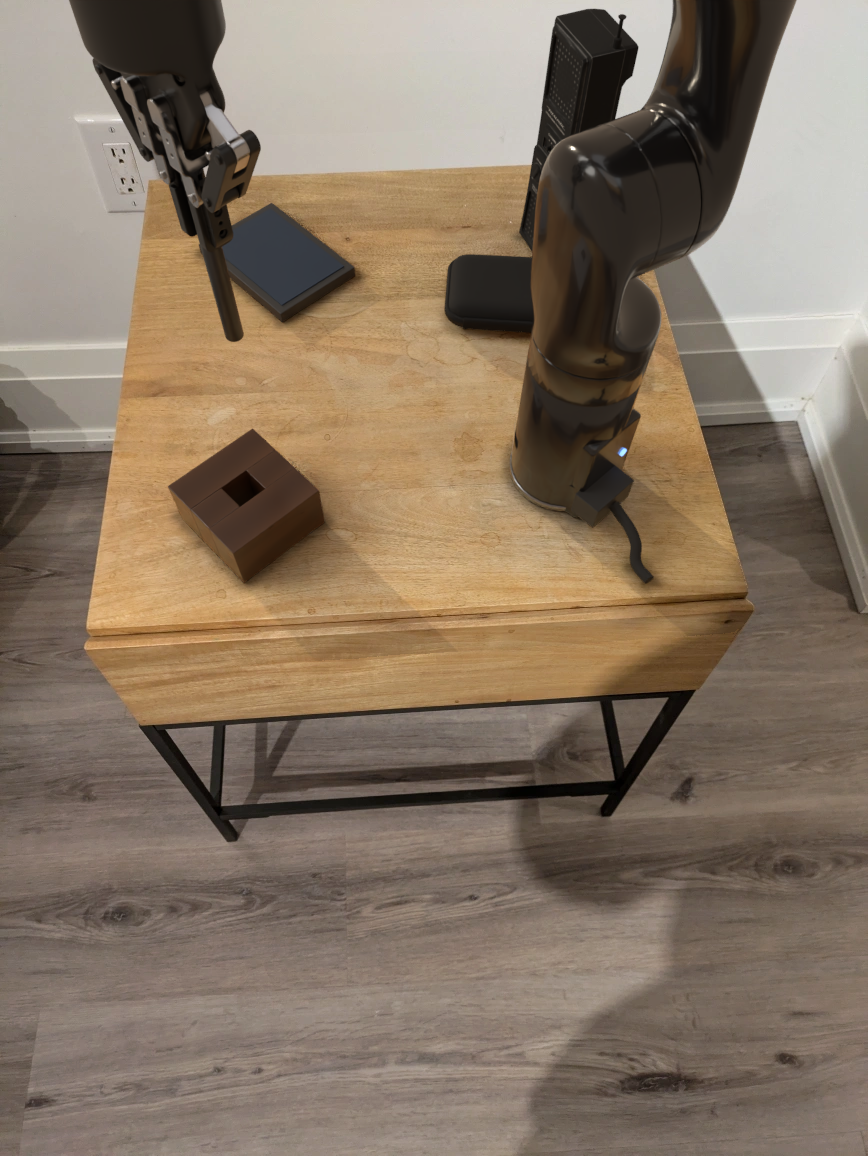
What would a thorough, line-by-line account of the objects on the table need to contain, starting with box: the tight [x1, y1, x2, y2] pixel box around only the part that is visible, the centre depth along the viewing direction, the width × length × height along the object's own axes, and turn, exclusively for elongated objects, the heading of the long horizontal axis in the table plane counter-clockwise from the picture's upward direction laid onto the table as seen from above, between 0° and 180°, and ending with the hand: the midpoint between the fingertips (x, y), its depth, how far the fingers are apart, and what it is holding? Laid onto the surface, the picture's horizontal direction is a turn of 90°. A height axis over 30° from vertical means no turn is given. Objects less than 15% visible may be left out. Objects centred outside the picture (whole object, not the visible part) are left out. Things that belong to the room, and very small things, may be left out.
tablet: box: [198, 202, 356, 323], centre depth 90 cm, size 14×10×1 cm
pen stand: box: [167, 428, 326, 584], centre depth 73 cm, size 9×9×5 cm
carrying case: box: [443, 253, 534, 334], centre depth 87 cm, size 11×3×15 cm
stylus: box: [179, 168, 245, 343], centre depth 58 cm, size 2×2×14 cm
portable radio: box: [518, 8, 639, 252], centre depth 82 cm, size 8×6×25 cm
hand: (208, 236), depth 56 cm, fingers closed on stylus, 1 cm apart
